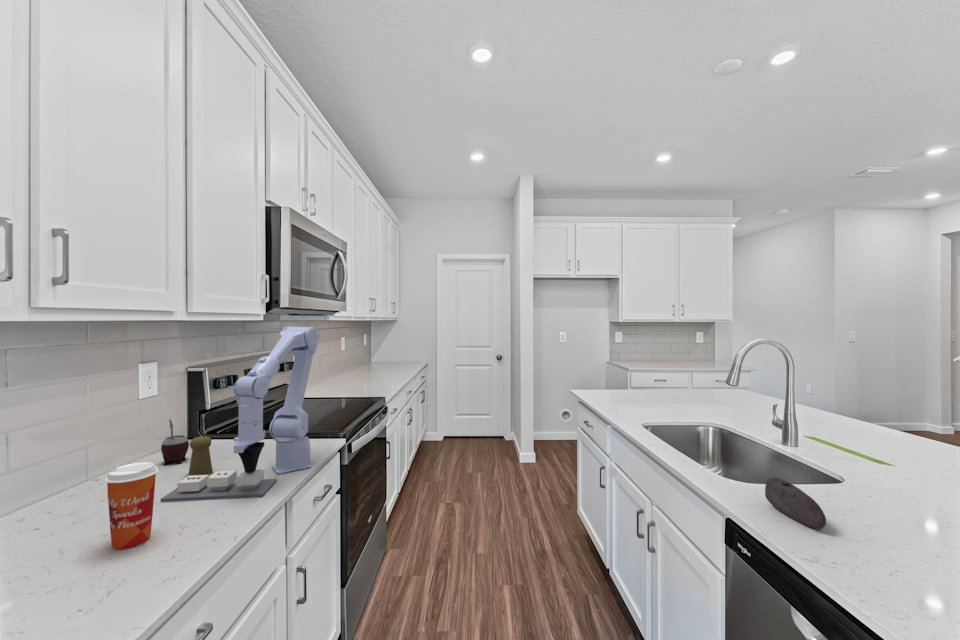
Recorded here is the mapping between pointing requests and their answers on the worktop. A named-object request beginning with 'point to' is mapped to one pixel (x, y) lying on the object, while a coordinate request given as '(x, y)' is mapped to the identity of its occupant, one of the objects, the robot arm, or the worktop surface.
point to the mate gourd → (174, 448)
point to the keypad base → (222, 492)
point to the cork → (200, 456)
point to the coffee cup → (131, 503)
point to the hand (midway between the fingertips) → (250, 471)
